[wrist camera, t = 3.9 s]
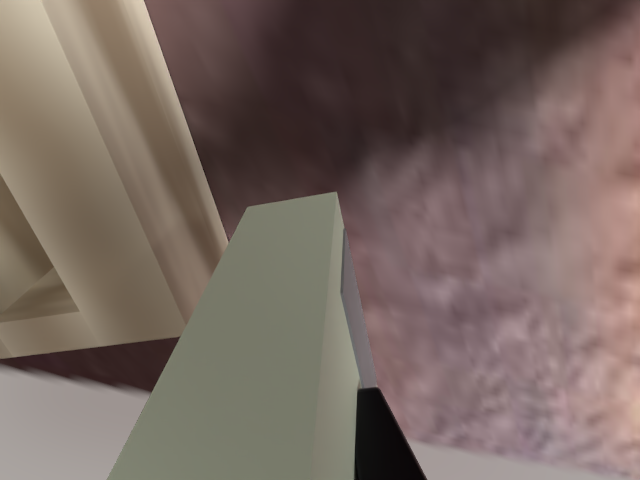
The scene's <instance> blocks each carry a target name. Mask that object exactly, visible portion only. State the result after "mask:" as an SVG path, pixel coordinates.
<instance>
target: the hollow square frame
mask: <svg viewBox="0 0 640 480" xmlns="http://www.w3.org/2000/svg"><path fill="white" fill-rule="evenodd" d="M228 244H229V242H228V239H227V236H226V234H225V231H224V228H223V225H222V222H221V219H220V216H219V214H218V211H217V208H216V205H215V202H214V199H213V197H212V194H211V191H210V188H209V185H208V182H207V179H206V177H205V174H204V171H203V168H202V165H201V162H200V159H199V157H198V154H197V151H196V148H195V145H194V142H193V139H192V137H191V134H190V131H189V128H188V125H187V122H186V120H185V117H184V114H183V111H182V108H181V105H180V102H179V100H178V97H177V94H176V91H175V88H174V85H173V82H172V80H171V77H170V74H169V71H168V68H167V65H166V63H165V60H164V57H163V54H162V51H161V48H160V45H159V43H158V40H157V37H156V34H155V31H154V28H153V25H152V23H151V20H150V17H149V14H148V11H147V8H146V6H145V3H144V0H0V359H4V358H12V357H20V356H28V355H36V354H44V353H53V352H61V351H69V350H77V349H85V348H93V347H101V346H109V345H117V344H125V343H133V342H141V341H149V340H157V339H165V338H174V337H181V335H182V333H183V331H184V329H185V327H186V325H187V323H188V321H189V319H190V317H191V315H192V313H193V311H194V310H195V308H196V306H197V304H198V302H199V300H200V298H201V296H202V294H203V292H204V290H205V288H206V286H207V284H208V282H209V280H210V278H211V277H212V275H213V273H214V271H215V269H216V267H217V265H218V263H219V261H220V259H221V257H222V255H223V253H224V251H225V249H226V247H227V245H228Z"/></svg>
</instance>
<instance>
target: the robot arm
mask: <svg viewBox="0 0 640 480" xmlns="http://www.w3.org/2000/svg"><path fill="white" fill-rule="evenodd" d="M355 463H356V470H357V478H358V480H427V478H426V476H425V475H424V473H423V471H422V469H421V467H420V465H419V463H418V461H417V459H416V457H415V455H414V453H413V451H412V450H411V448H410V446H409V444H408V442H407V440H406V438H405V436H404V434H403V432H402V430H401V428H400V427H399V425H398V423H397V421H396V419H395V417H394V415H393V413H392V411H391V409H390V407H389V405H388V403H387V402H386V400H385V398H384V396H383V394H382V392H381V390H380V389H379V388H378V387H369V388H360V389H358V391H357V409H356V434H355Z"/></svg>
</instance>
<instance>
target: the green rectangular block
mask: <svg viewBox="0 0 640 480" xmlns="http://www.w3.org/2000/svg"><path fill="white" fill-rule="evenodd" d="M369 387H377V383H376V373H375V369H374V364H373V359H372V354H371V349H370V344H369V339H368V335H367V330H366V325H365V320H364V315H363V310H362V305H361V301H360V296H359V291H358V286H357V281H356V276H355V272H354V267H353V262H352V257H351V252H350V247H349V242H348V238H347V233H346V229H344V224H343V220H342V215H341V210H340V205H339V200H338V196H337V192H332V193H326V194H320V195H314V196H308V197H302V198H296V199H291V200H285V201H279V202H273V203H267V204H261V205H255V206H250V207H247V209H246V211H245V212H244V214H243V216H242V218H241V220H240V222H239V224H238V226H237V228H236V230H235V232H234V234H233V236H232V238H231V240H230V242H229V244H228V245H227V247H226V249H225V251H224V253H223V255H222V257H221V259H220V261H219V263H218V265H217V267H216V269H215V271H214V273H213V275H212V277H211V278H210V280H209V282H208V284H207V286H206V288H205V290H204V292H203V294H202V296H201V298H200V300H199V302H198V304H197V306H196V308H195V310H194V311H193V313H192V315H191V317H190V319H189V321H188V323H187V325H186V327H185V329H184V331H183V333H182V335H181V337H180V339H179V341H178V343H177V344H176V346H175V348H174V350H173V352H172V354H171V356H170V358H169V360H168V362H167V364H166V366H165V368H164V370H163V372H162V374H161V376H160V377H159V379H158V381H157V383H156V385H155V387H154V389H153V391H152V393H151V395H150V397H149V399H148V401H147V403H146V405H145V407H144V409H143V411H142V412H141V414H140V416H139V418H138V420H137V422H136V424H135V426H134V428H133V430H132V432H131V434H130V436H129V438H128V440H127V442H126V443H125V445H124V447H123V449H122V451H121V453H120V455H119V457H118V459H117V461H116V463H115V465H114V467H113V469H112V471H111V473H110V475H109V477H108V478H107V480H358V478H357V470H356V463H355V434H356V409H357V391H358V389H360V388H369Z"/></svg>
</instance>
